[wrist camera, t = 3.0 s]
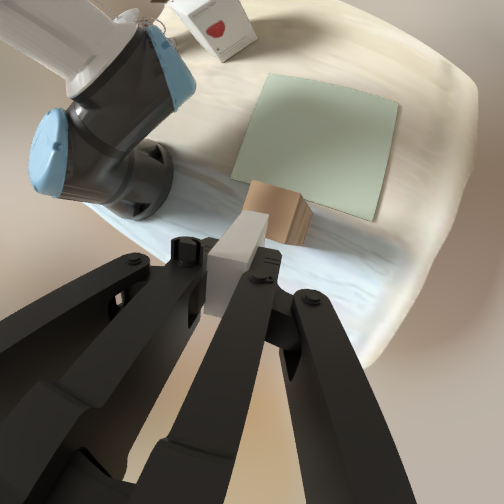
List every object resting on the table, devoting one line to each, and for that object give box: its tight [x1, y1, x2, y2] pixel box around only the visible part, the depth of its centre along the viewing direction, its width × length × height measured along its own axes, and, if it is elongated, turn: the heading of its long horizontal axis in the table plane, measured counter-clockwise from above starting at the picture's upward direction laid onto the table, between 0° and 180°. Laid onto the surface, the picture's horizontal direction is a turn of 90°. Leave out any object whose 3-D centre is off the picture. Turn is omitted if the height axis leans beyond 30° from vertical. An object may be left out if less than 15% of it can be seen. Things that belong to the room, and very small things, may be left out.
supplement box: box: [167, 0, 258, 63], centre depth 35 cm, size 9×9×15 cm
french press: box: [88, 0, 176, 49], centre depth 35 cm, size 10×12×25 cm
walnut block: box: [242, 180, 312, 246], centre depth 33 cm, size 5×5×14 cm
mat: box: [230, 73, 398, 222], centre depth 38 cm, size 22×20×1 cm
